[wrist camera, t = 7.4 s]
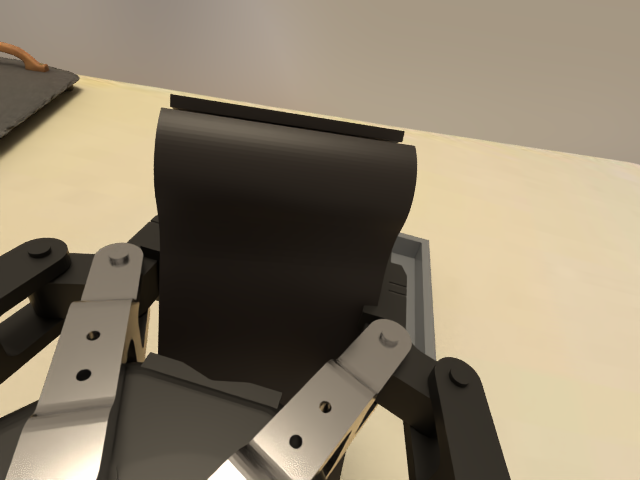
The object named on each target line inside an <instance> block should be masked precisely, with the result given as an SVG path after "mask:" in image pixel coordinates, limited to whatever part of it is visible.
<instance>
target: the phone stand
mask: <svg viewBox="0 0 640 480" xmlns="http://www.w3.org/2000/svg"><path fill="white" fill-rule="evenodd" d="M170 107H172V108H173V109H167V108H161V111H160V115H159V119H158V125H157V131H156V139H155V151H154V188H155V197H156V204H157V211H158V220H159V233H160V281H159V333H158V355H161V356H165V357H168V358H171V359H174V360H178V361H181V362H183V363H185V364H186V365H188V366H190V367H191V368H193V369H194V370H196V371H197V372H199V373H201V374H202V375H204V376H205V377H207V378H208V379H210V380H214V381H229V382H247V383H252V384H255V385H259V386H262V387H265V388H268V389H272V390H275V391H278V392H281V393H282V396H281V400H280V403H281V404H282V405H284V406H285V405H286V404H287V403H288V402H289V401H290V400H291V399H292V398H293V397H294V396H295V395H296V394H297V393H298V392H299V391H300V390H301V389H302V388H303V387H304V386H305V384H306V383H307V382H308V381H309V380H310V379H311V378H312V377H313V376H314V375H315V374H316V373H317V372H318V371H319V370H320V369H321V368H322V367H323V366H324V365H325V364H326V363H327V362H328V361H329V360H330V359H332V358H333V359H335V360H337V359H338V358H339V357H340V356H341V355H342V354H343V353H344V352H345V350H346V349H347V348H348V347H349V346H350V345H351V344H352V343H353V342H354V341H355V340H356V339H357V338H358V337H359V336H360V335H361V331H360V330H359V329H358V328H357V325H358V322H359V319H360V316H361V313H362V310H363V307H364V305H367V306H378V302H379V297H380V293H381V288H382V284H383V279H384V275H385V271H386V267H387V263H388V260H389V257H390V254H391V251H392V248H393V246H394V243H395V241H396V239H397V237H398V235H399V233H400V231H401V229H402V227H403V225H404V223H405V221H406V219H407V217H408V214H409V211H410V208H411V205H412V201H413V197H414V192H415V186H416V178H417V155H416V148H415V146H412V145H405V144H398V142H402V141H403V137H404V132H405V131H399V130H393V129H387V128H380V127H374V126H368V125H361V124H355V123H349V122H343V121H336V120H330V119H324V118H318V117H311V116H305V115H299V114H292V113H286V112H280V111H274V110H267V109H261V108H255V107H248V106H242V105H236V104H230V103H223V102H217V101H211V100H204V99H198V98H192V97H186V96H179V95H173V94H170ZM345 453H346V451H345ZM345 453H344V454H343V456H342V457H341V459H340V460H339V462H338V463H337V465H336V466H335V468H334V469H333V470H332V472H331V473H330V475H329V476H328V477H327V479H326V480H340V475H341V471H342V466H343V462H344V457H345Z"/></svg>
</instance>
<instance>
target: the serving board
mask: <svg viewBox="0 0 640 480" xmlns="http://www.w3.org/2000/svg"><path fill="white" fill-rule="evenodd" d="M0 51H1V52H5V53H8V54H11V55H14V56H16V57H18V58H20V59H21V60H22V61H21V60H16V59H8V58H3V57H0V139H1V138H2V137H3V136H5V135H7V134H8V133H9V132H10V131H11V130H12V129H13V128H15V127H17V126H18V125H19V124H20V123H22V122H24V121H25V120H26V119H27V118H29V117H30V116H31V115H33V114H35V113H36V112H37V111H38V110H39V109H41V108H42V107H43V106H45V105H46V104H48V103H49V102H50V101H52V100H53V99H54V98H56V97H57V96H58V95H59V94H61V93H62V92H63V91H72V90H73V84H74V83H76V82H77V81H78V80H79V79H80V78H79V77H78V75H76V74H74V73H72V72H69V71H64V70H61V69H57V68H54V67H50V66H48V65H47V64H42V63H39V62H37V61H36V60H35V59H34V58H33V57H32V56H30V55H29V54H28V53H27V52H25V51H24V50H22V49H21V48H19V47H16V46H14V45H11V44H7V43H4V42H0Z"/></svg>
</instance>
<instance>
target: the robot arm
mask: <svg viewBox="0 0 640 480" xmlns="http://www.w3.org/2000/svg"><path fill="white" fill-rule="evenodd" d="M391 255H392V251H391V254H390V257H389V260H388V263H387V267H386V271H385V275H384V279H383V284H382V288H381V293H380V297H379V302H378V306H367V305H364V307H363V310H362V313H361V316H360V319H359V322H358V325H357V328H358V329H359V330H360V331H361V335H360V336H359V337H358V338H357V339H356V340H355V341H354V342H353V343H352V344H351V345H350V346H349V347H348V348H347V349H346V350H345V352H344V353H343V354H342V355H341V356H340V357H339V358H338V359H337V360H335V359H333V358H332V359H330V360H329V361H328V362H327V363H326V364H325V365H324V366H323V367H322V368H321V369H320V370H319V371H318V372H317V373H316V374H315V375H314V376H313V377H312V378H311V379H310V380H309V381H308V382H307V383H306V384H305V386H304V387H303V388H302V389H301V390H300V391H299V392H298V393H297V394H296V395H295V396H294V397H293V398H292V399H291V400H290V401H289V402H288V403H287V404H286V405H285V406H284V405H282V404H281V403H280V400H281V396H282V393H281V392H278V391H275V390H272V389H268V388H265V387H262V386H259V385H255V384H252V383H247V382H229V381H214V380H210V379H208V378H207V377H205V376H204V375H202V374H201V373H199V372H197V371H196V370H194V369H193V368H191V367H190V366H188V365H186V364H185V363H183V362H181V361H178V360H174V359H171V358H168V357H165V356H161V355H158V354H155V353H152V352H150V353H149V355H148V356H147V358H146V359H145V353H146V345H147V336H148V327H149V319H150V306H151V305H152V303H153V302H154V301H155V300H157V301H159V281H160V233H159V220H158V215H157V216H155V217H154V218H153V219H152V220H151V222H148V223H147V224H146V225H145V226H144V227H143V228H142V229H141V230H140V231H139V232H138V233H137V234H136V235H135V236H133V237H132V238H131V239H130V240H129V241H128V242H127V243H115V244H111V245H108V246H105V247H103V248H101V249H100V250H99V251H98V252H97V253H96V254H79V253H69V251H68V248H67V245H66V244H65V243H64V242H63V241H61V240H59V239H55V238H39V239H34V240H30V241H28V242H25V243H23V244H21V245H19V246H18V247H16V248H14V249H12V250H11V251H9V252H7V253H5V254H3V255H2V256H0V316H1V315H3V314H4V313H5V312H7V311H8V310H10V309H11V308H13V307H14V306H15V305H17V304H18V303H20V302H21V301H23V300H24V299H26V298H27V297H28V298H29V300H30V303H29V304H27V305H26V306H24V307H23V308H22V309H20V310H19V311H17V312H16V313H14V314H13V315H12V316H10V317H9V318H7V319H6V320H5V321H3V322H2V323H0V384H1V383H3V382H4V381H5V380H6V379H7V378H9V377H10V376H11V375H12V374H13V373H15V372H16V371H17V370H18V369H19V368H21V367H22V366H23V365H24V364H25V363H27V362H28V361H29V360H30V359H31V358H33V357H34V356H35V355H36V354H37V353H39V352H40V351H41V350H42V349H43V348H45V347H46V346H47V345H48V344H49V343H51V342H52V341H53V340H54V339H55V338H57V337H58V336H59V335H60V337H59V340H58V344H57V347H56V350H55V353H54V356H53V359H52V362H51V365H50V368H49V371H48V374H47V377H46V380H45V383H44V386H43V389H42V392H41V395H40V398H39V400H37V401H35V402H33V403H31V404H29V405H27V406H25V407H23V408H20V409H18V410H16V411H14V412H12V413H10V414H8V415H6V416H4V417H1V418H0V480H326V479H327V477H328V476H329V475H330V473H331V472H332V470H333V469H334V468H335V466H336V465H337V463H338V462H339V460H340V459H341V457H342V456H343V454H344V453H345V451H346V450H347V448H348V447H349V445H350V443H351V442H352V441H353V439H354V438H355V436H356V435H357V433H358V432H359V431H360V429H361V428H362V427H363V425H364V424H365V422H366V421H367V420H368V418H369V417H370V415H371V414H372V413H373V411H374V410H375V408H376V407H377V406H378V404H379V405H381V406H382V407H384V408H385V409H387V410H388V411H390V412H391V413H393V414H394V415H396V416H397V417H399V418H400V419H402V420H403V425H404V435H405V444H406V454H407V464H408V473H409V480H511V479H510V476H509V473H508V469H507V466H506V463H505V459H504V456H503V453H502V449H501V446H500V443H499V439H498V436H497V433H496V429H495V426H494V423H493V419H492V416H491V413H490V409H489V406H488V403H487V399H486V396H485V393H484V389H483V386H482V383H481V380H480V378H479V376H478V374H477V373H476V372H475V370H474V369H473V368H472V367H471V366H469V365H468V364H467V363H465V362H464V361H462V360H459V359H457V358H453V357H445V358H442V359H440V360H439V361H438V362H437V361H436V360H434V359H432V358H431V357H429V356H427V355H426V354H424V353H423V352H421V351H420V350H418V349H417V348H416V347H415V346H414V345H413V343H412V341H411V337H410V335H409V333H408V332H407V331H406V306H407V297H406V296H407V275H406V273H405V271H404V269H403V267H402V265H399V264H395V263H392V262H391Z"/></svg>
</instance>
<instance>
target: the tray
mask: <svg viewBox="0 0 640 480" xmlns="http://www.w3.org/2000/svg"><path fill="white" fill-rule="evenodd" d="M391 262H392V263H395V264H399V265H402V267H403V269H404V271H405V273H406V275H407V296H406V297H407V306H406V331H407V332H408V333H409V335H410V337H411V341H412V343H413V345H414V346H415V347H416V348H417V349H418V350H420V351H421V352H423V353H424V354H426V355H427V356H429V357H431V358H432V359H434V360H436V350H435V333H434V317H433V300H432V284H431V267H430V251H429V240H425V239H422V238H418V237H414V236H411V235H407V234H403V233H399V235H398V237H397V239H396V241H395V243H394V246H393V248H392V255H391Z"/></svg>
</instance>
